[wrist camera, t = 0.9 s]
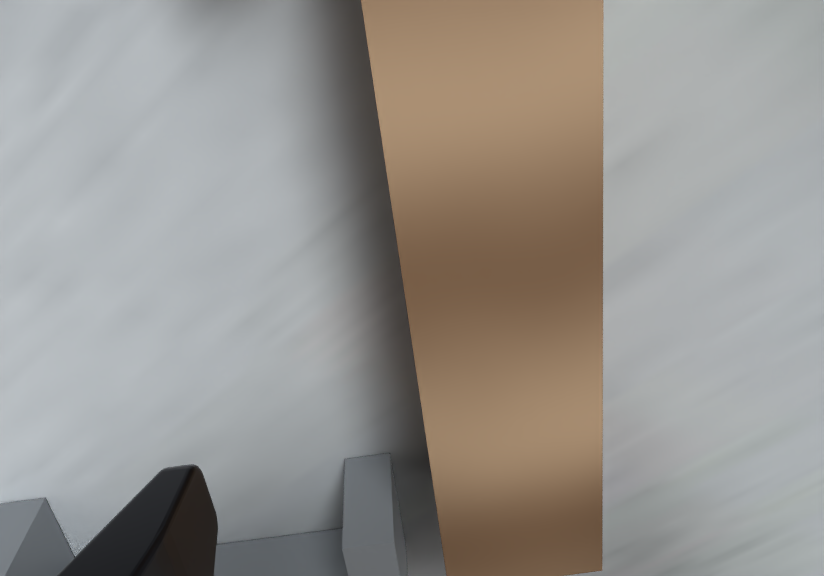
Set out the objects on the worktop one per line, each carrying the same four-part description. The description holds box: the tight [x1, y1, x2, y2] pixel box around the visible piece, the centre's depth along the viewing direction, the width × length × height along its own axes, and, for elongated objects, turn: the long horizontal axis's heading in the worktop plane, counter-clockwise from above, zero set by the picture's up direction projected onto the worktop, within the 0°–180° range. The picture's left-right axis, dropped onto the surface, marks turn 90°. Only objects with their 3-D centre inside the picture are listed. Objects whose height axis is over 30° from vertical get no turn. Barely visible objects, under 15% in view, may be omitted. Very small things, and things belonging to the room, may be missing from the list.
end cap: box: [0, 453, 408, 576], centre depth 19 cm, size 4×10×3 cm, turn 97°
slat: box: [361, 0, 603, 576], centre depth 15 cm, size 16×4×4 cm, turn 7°
